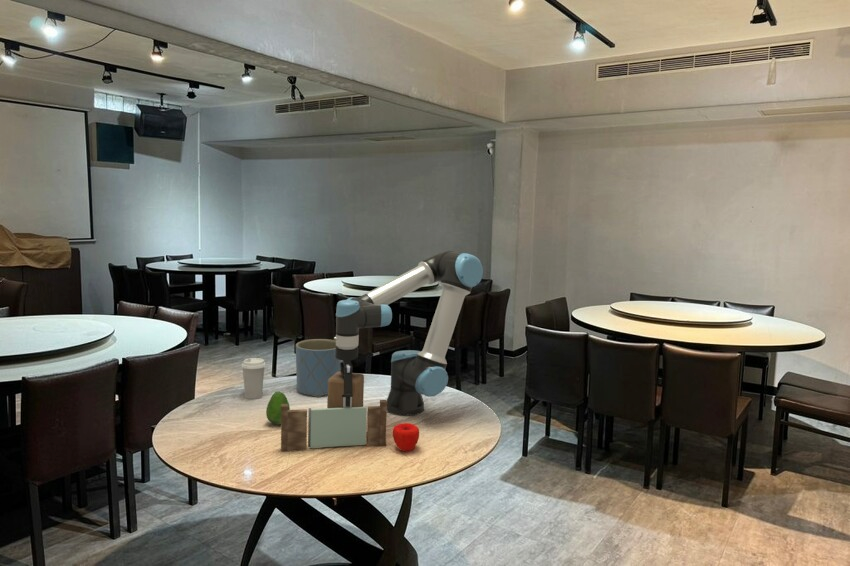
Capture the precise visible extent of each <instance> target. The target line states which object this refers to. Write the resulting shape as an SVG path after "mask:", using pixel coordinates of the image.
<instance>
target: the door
mask: <svg viewBox="0 0 850 566" xmlns="http://www.w3.org/2000/svg"><path fill="white" fill-rule="evenodd" d="M367 415H368V407H367V406H363V407H347V408H327V407H326V408H325V407H324V408H311V407H309V408H308V415H307V448H310V449H311V448H313V449H314V448H331V447H333V448H334V447H344V446H345V447H347V446H348V447H349V446H363V445H366V446H367Z"/></svg>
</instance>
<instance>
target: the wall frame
mask: <svg viewBox="0 0 850 566" xmlns="http://www.w3.org/2000/svg"><path fill="white" fill-rule="evenodd" d="M387 414H388V411H387V399H379V405H375V406H367V419H366V446H367V447H375V446H376V447H377V446H378V447H383V446H386V445H387ZM307 448H308V409H307V408H305V409H303V408H302V409H301V408H300V409H290V410H288V404H281V424H280V452H281V453H284V452H285V453H286V452H292V451H293V452H294V451H307V450H308V449H307Z"/></svg>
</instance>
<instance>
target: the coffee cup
mask: <svg viewBox="0 0 850 566" xmlns="http://www.w3.org/2000/svg"><path fill="white" fill-rule="evenodd" d="M266 366H267V365H266V362H265V360H264V359H263V358H261V357H260V358H258V357H250V358H246V359H244V360H243V361H242V362H241V365H240V367H241V369H242V377H243V386H244V387H243V389H244V398H245V399H246V400H260V399H262V397H263V389H264V387H263V386H264V377H265V369H266V368H265V367H266Z"/></svg>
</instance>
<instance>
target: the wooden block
mask: <svg viewBox="0 0 850 566" xmlns="http://www.w3.org/2000/svg"><path fill="white" fill-rule="evenodd" d="M352 374H353V375H352V393H353V396H352V407H364V390H365V389H364V388H365V386H364V385H365V375H364V374H363V373H357V372H352ZM342 395H344V378H343V377H342V372H337V373H335V374H334V375H333V376H332V377H330V378H329V379H328V394H327V397H326V398H327V401H326V402H327V403H326V405H327V406H326V408H343V397H342Z"/></svg>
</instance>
